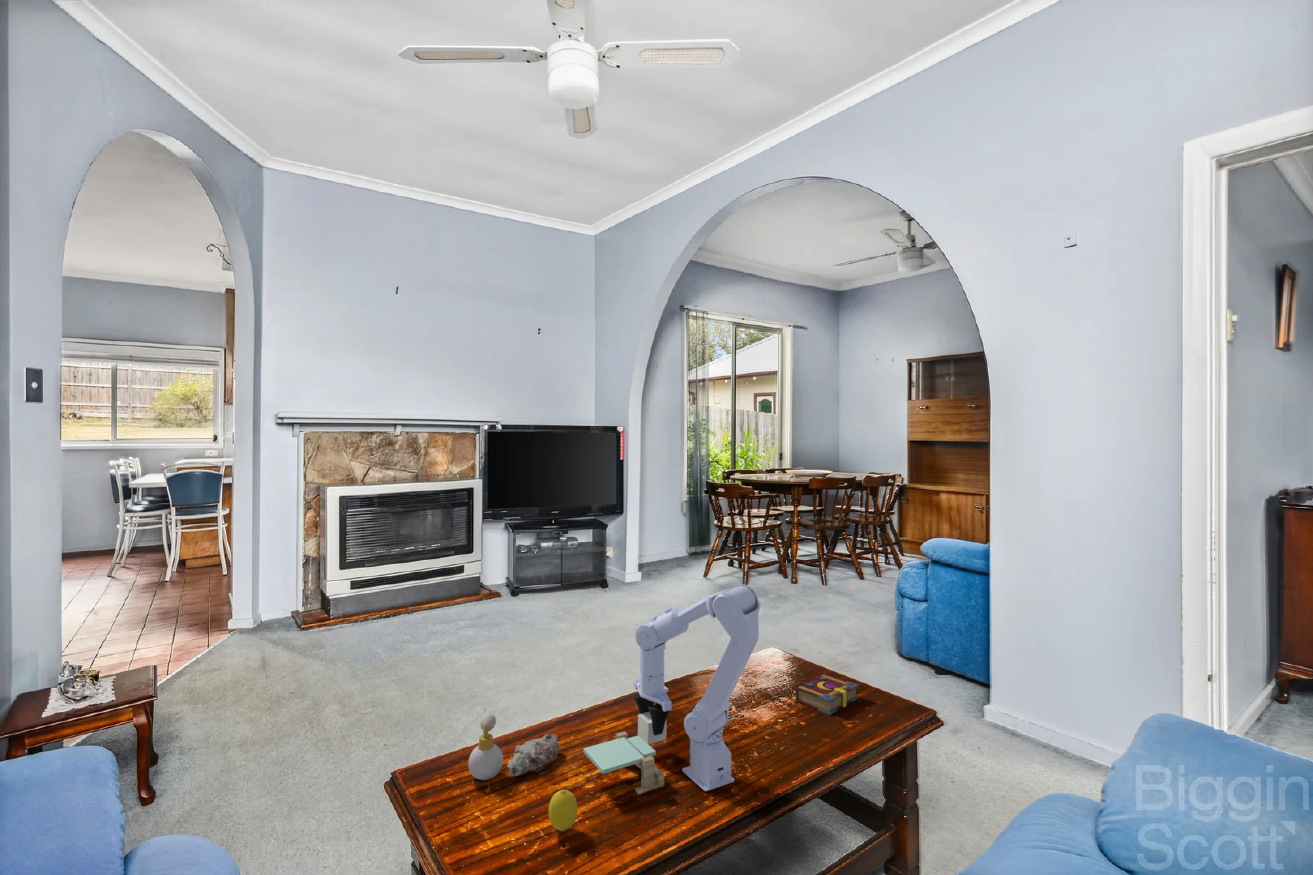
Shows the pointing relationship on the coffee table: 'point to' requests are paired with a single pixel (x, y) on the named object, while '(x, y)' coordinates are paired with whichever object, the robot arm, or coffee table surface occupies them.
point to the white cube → (649, 729)
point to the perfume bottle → (486, 752)
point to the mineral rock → (534, 755)
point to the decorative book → (826, 693)
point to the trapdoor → (618, 753)
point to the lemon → (563, 810)
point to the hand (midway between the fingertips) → (652, 728)
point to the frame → (647, 772)
